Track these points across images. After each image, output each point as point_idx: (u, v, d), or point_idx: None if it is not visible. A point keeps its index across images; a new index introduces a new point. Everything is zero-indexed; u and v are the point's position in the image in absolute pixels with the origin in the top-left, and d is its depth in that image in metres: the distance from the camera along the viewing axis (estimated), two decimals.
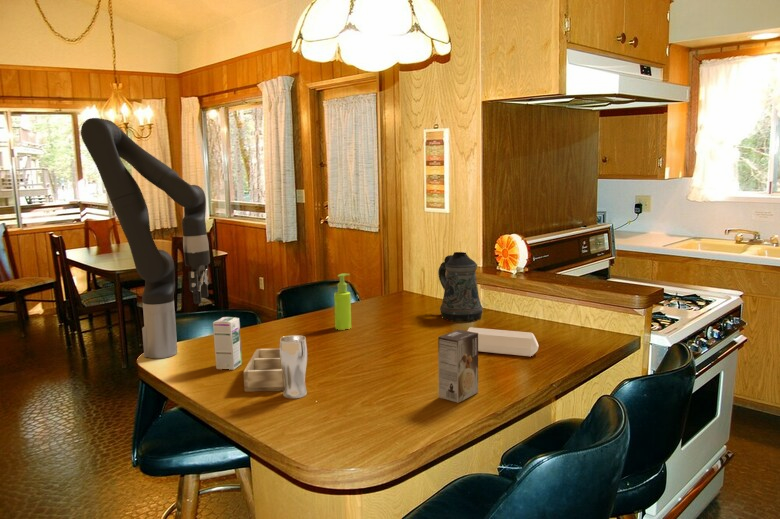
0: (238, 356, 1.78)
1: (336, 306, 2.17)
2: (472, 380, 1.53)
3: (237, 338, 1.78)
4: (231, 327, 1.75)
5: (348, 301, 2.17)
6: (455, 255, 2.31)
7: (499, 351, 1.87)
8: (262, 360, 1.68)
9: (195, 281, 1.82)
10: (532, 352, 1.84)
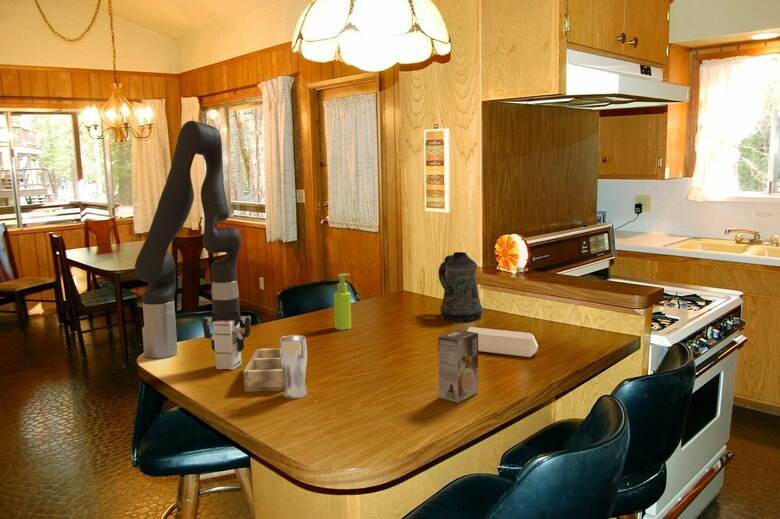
0: (238, 356, 1.78)
1: (336, 306, 2.17)
2: (472, 380, 1.53)
3: (237, 338, 1.77)
4: (231, 327, 1.75)
5: (348, 301, 2.17)
6: (455, 255, 2.31)
7: (498, 351, 1.87)
8: (262, 360, 1.68)
9: (250, 325, 1.78)
10: (531, 352, 1.84)
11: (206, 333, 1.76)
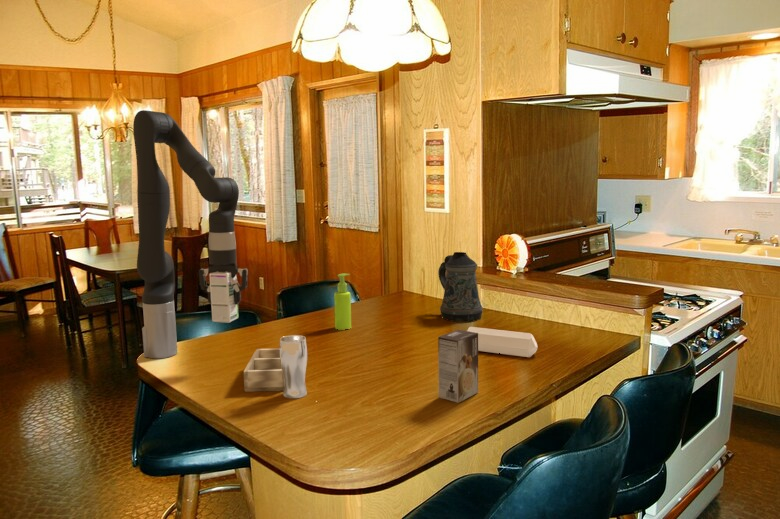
0: (234, 309, 1.76)
1: (336, 306, 2.17)
2: (472, 380, 1.53)
3: (233, 290, 1.75)
4: (228, 278, 1.72)
5: (348, 301, 2.17)
6: (455, 255, 2.31)
7: (497, 351, 1.87)
8: (262, 360, 1.68)
9: (247, 278, 1.76)
10: (530, 353, 1.84)
11: (202, 285, 1.74)
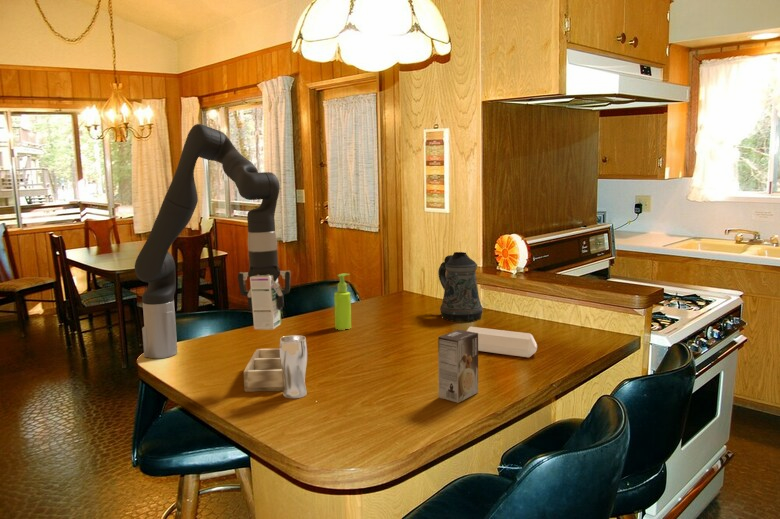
0: (277, 315, 1.62)
1: (336, 306, 2.17)
2: (472, 380, 1.53)
3: (276, 295, 1.61)
4: (271, 282, 1.59)
5: (348, 301, 2.17)
6: (455, 255, 2.31)
7: (497, 351, 1.87)
8: (262, 360, 1.68)
9: None
10: (530, 353, 1.83)
11: (242, 290, 1.60)
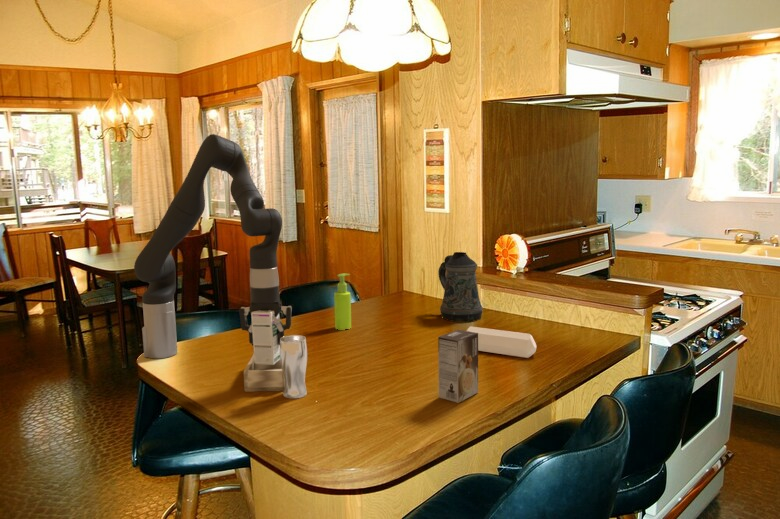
0: (278, 349, 1.63)
1: (336, 306, 2.17)
2: (472, 380, 1.53)
3: (276, 330, 1.62)
4: (272, 318, 1.59)
5: (348, 301, 2.17)
6: (455, 255, 2.31)
7: (496, 351, 1.87)
8: None
9: None
10: (529, 353, 1.83)
11: (243, 325, 1.61)
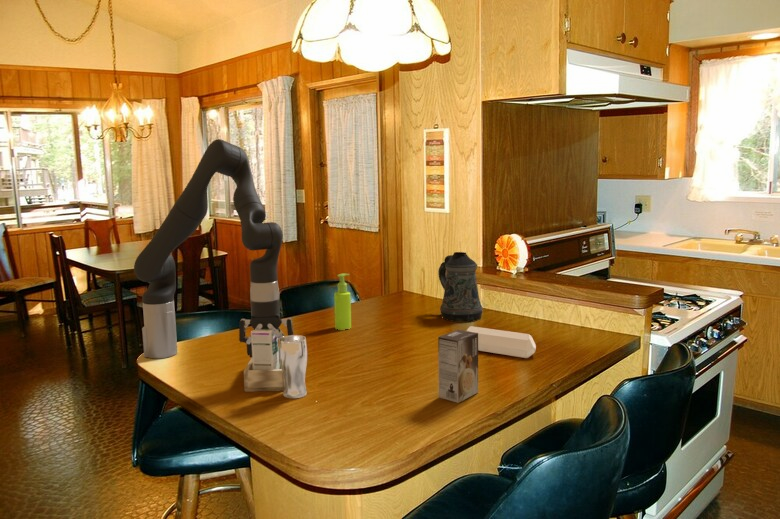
0: (277, 367, 1.64)
1: (336, 306, 2.17)
2: (472, 380, 1.53)
3: (276, 348, 1.63)
4: (271, 336, 1.60)
5: (348, 301, 2.17)
6: (455, 255, 2.31)
7: (496, 351, 1.87)
8: None
9: (292, 328, 1.63)
10: (528, 354, 1.83)
11: (241, 337, 1.61)
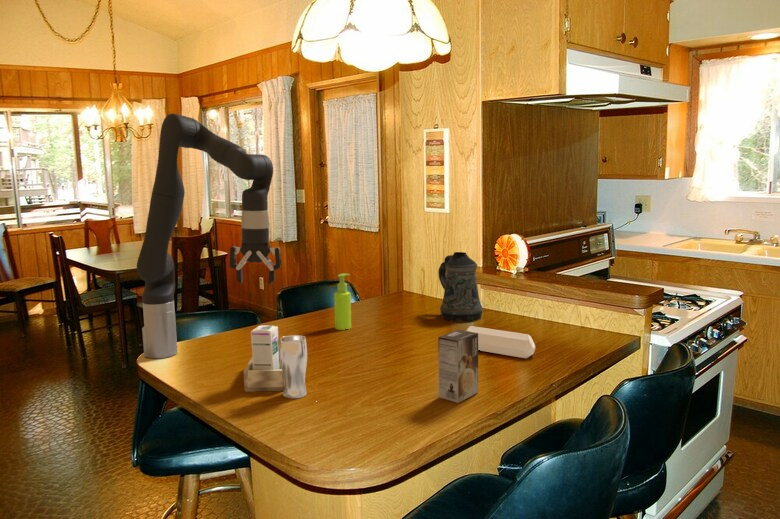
0: (277, 367, 1.64)
1: (336, 306, 2.17)
2: (472, 380, 1.53)
3: (276, 348, 1.63)
4: (271, 336, 1.60)
5: (348, 301, 2.17)
6: (455, 255, 2.31)
7: (495, 351, 1.87)
8: None
9: (280, 257, 1.72)
10: (527, 354, 1.83)
11: (231, 262, 1.70)
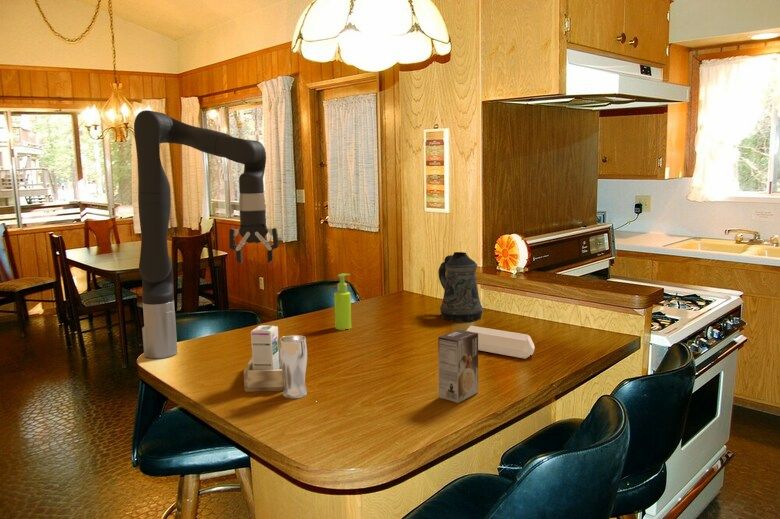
0: (277, 367, 1.64)
1: (336, 306, 2.17)
2: (472, 380, 1.53)
3: (276, 348, 1.63)
4: (271, 336, 1.60)
5: (348, 301, 2.17)
6: (455, 255, 2.31)
7: (494, 351, 1.87)
8: None
9: (277, 237, 1.81)
10: (526, 354, 1.82)
11: (231, 244, 1.79)
